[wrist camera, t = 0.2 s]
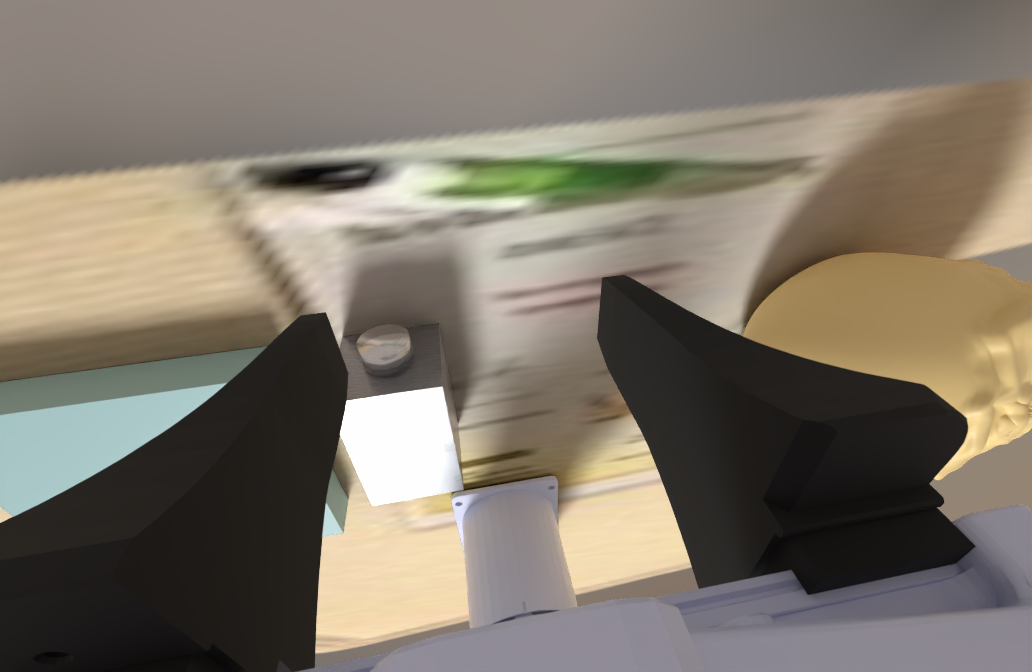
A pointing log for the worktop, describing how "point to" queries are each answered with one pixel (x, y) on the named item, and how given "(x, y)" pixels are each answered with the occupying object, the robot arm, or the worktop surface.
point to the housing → (401, 413)
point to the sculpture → (916, 333)
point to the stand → (108, 423)
